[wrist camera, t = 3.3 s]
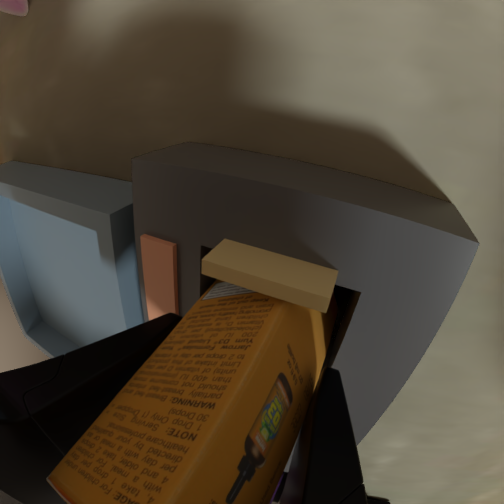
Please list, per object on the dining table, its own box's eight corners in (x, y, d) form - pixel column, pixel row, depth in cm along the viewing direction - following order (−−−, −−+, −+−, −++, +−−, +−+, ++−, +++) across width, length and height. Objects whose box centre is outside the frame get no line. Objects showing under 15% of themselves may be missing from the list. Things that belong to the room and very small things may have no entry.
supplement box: (230, 249, 12) (28, 473, 4) (318, 230, 10) (144, 564, 2) (260, 320, 13) (126, 541, 5) (341, 312, 11) (246, 594, 3)
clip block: (304, 478, 19) (286, 523, 15) (194, 438, 21) (169, 477, 18) (453, 204, 8) (494, 269, 5) (187, 141, 11) (101, 168, 7)
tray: (176, 393, 19) (152, 426, 16) (47, 317, 22) (24, 336, 20) (162, 188, 12) (109, 214, 9) (11, 160, 16) (-24, 174, 13)
